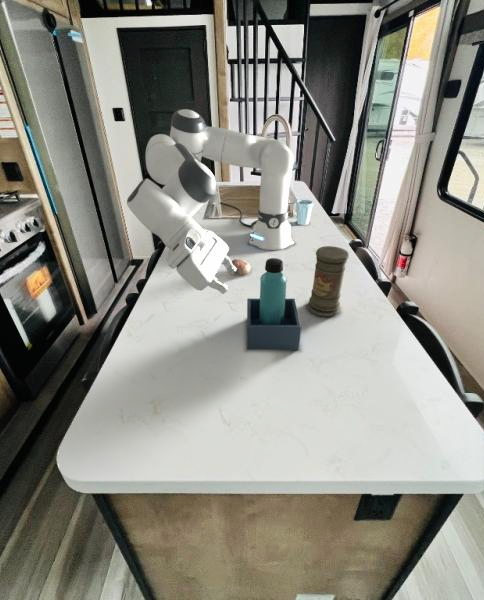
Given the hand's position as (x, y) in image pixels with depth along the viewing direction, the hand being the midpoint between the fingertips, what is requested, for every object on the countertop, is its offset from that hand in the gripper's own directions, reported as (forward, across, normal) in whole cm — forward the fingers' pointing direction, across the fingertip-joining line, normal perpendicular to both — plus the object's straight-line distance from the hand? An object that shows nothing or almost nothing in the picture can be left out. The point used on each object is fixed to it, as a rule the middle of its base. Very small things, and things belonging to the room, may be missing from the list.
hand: (230, 281), depth 78 cm
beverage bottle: (+17, 0, -2) cm, 17 cm away
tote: (+18, 0, -3) cm, 18 cm away
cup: (+22, -89, +1) cm, 92 cm away
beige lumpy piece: (+8, -32, -13) cm, 36 cm away
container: (+28, -14, +7) cm, 32 cm away
